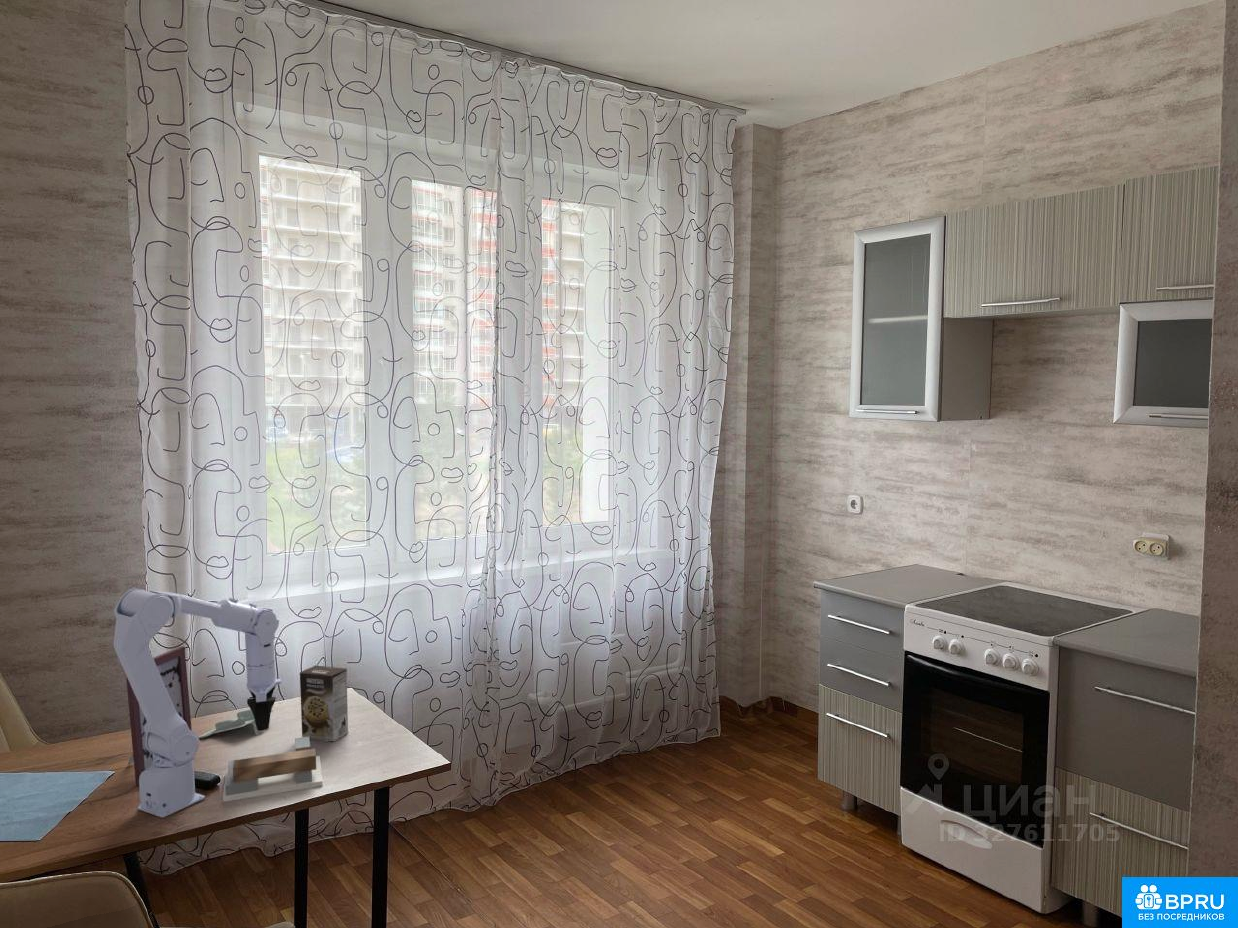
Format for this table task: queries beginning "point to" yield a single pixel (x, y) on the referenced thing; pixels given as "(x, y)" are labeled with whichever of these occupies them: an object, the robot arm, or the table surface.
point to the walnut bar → (274, 765)
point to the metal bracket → (235, 723)
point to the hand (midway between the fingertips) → (263, 723)
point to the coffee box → (324, 702)
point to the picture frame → (177, 688)
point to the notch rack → (273, 780)
